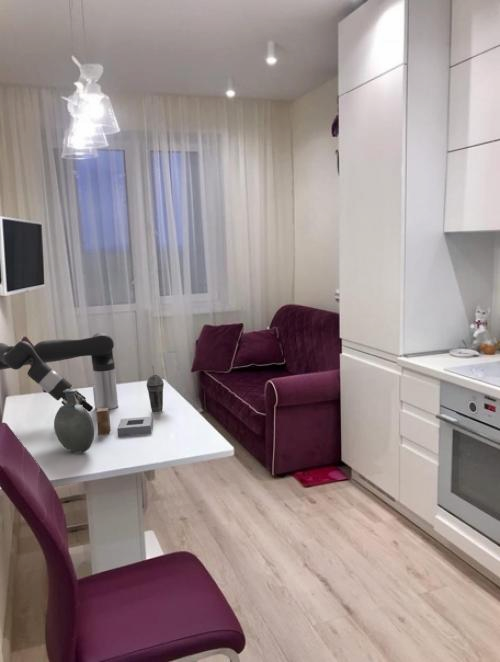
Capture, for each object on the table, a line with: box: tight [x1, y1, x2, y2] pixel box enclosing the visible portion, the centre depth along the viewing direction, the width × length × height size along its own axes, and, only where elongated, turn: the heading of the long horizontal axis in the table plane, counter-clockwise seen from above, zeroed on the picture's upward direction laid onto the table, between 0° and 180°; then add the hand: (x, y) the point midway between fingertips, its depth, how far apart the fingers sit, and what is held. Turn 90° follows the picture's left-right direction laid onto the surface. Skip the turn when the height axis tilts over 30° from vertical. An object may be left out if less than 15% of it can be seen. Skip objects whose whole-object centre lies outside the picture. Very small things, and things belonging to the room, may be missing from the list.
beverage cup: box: [146, 365, 164, 413], centre depth 222 cm, size 7×7×20 cm
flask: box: [53, 388, 95, 454], centre depth 177 cm, size 12×17×22 cm
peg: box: [95, 408, 111, 436], centre depth 197 cm, size 4×4×9 cm
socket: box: [116, 415, 154, 437], centre depth 199 cm, size 12×12×3 cm
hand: (89, 413), depth 195 cm, fingers open, 8 cm apart
